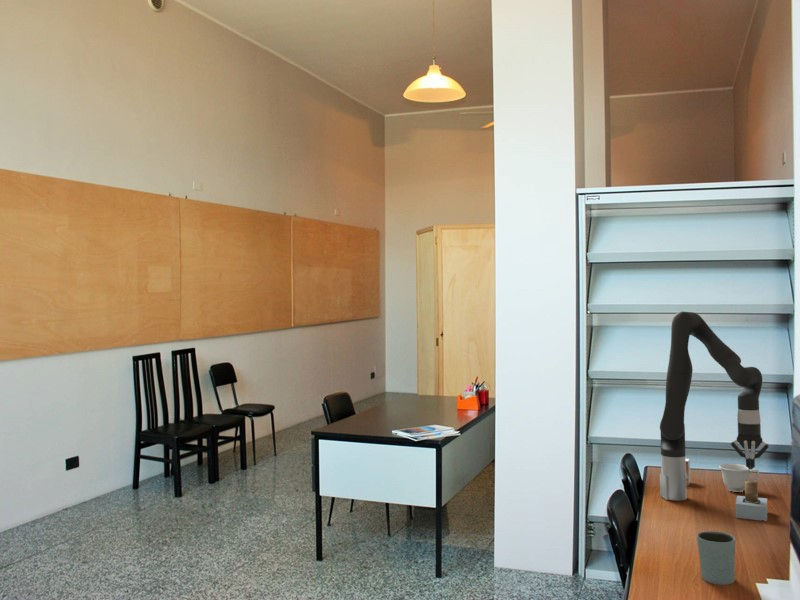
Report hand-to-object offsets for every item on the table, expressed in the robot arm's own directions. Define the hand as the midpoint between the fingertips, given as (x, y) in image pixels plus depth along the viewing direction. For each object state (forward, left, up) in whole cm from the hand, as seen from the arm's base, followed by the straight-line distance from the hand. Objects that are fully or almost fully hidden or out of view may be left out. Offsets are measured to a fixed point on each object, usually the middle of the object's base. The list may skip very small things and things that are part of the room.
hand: (750, 468), depth 255 cm
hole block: (0, 0, -17) cm, 17 cm away
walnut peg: (0, 0, -17) cm, 17 cm away
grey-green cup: (-41, -56, -17) cm, 71 cm away
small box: (-6, +47, -17) cm, 50 cm away
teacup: (+12, +31, -17) cm, 37 cm away
